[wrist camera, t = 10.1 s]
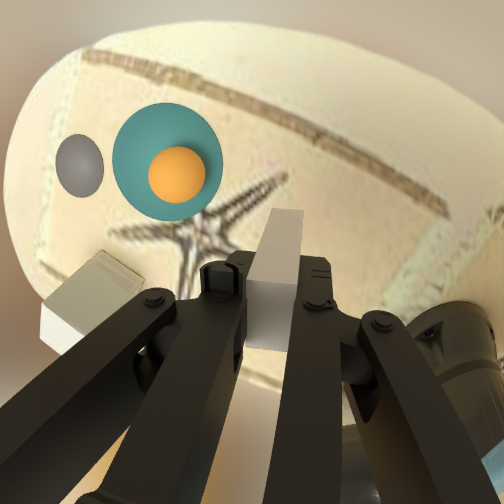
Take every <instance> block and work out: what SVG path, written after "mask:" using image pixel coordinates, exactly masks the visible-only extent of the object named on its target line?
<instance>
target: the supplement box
mask: <svg viewBox="0 0 504 504" xmlns="http://www.w3.org/2000/svg"><path fill="white" fill-rule="evenodd" d="M143 282H144V279H143V278H142V277H140V276H139V275H137V274H136V273H134V272H133V271H131V270H130V269H129V268H127V267H126V266H124V265H123V264H121V263H120V262H118V261H117V260H115V259H114V258H113V257H111V256H110V255H108V254H107V253H105V252H104V251H99V252H98V253H97V254H96V255H95V256H93V257H92V258H91V259H90V260H89V261H88V262H86V263H85V264H84V265H83V266H82V267H81V268H80V269H78V270H77V271H76V272H75V273H74V274H73V275H72V276H71V277H70V278H68V279H67V280H66V281H65V282H64V283H63V284H62V285H61V286H60V287H59V288H57V289H56V290H55V291H54V292H53V293H52V294H51V295H50V296H49V297H48V298H47V299H46V300H44V301H43V302H42V308H41V325H40V339H41V340H43V341H44V342H45V343H46V344H47V345H49V346H50V347H51V348H53V349H54V350H55V351H56V352H58V353H59V354H60V355H63V354H64V353H65V352H66V351H67V350H69V349H70V348H71V347H72V346H73V345H75V344H76V343H77V342H78V341H80V340H81V339H82V338H83V337H84V336H86V335H87V334H88V333H89V332H91V331H92V330H93V329H94V328H96V327H97V326H98V325H99V324H101V323H102V322H103V321H104V320H106V319H107V318H108V317H109V316H111V315H112V314H113V313H114V312H116V311H117V310H118V309H119V308H121V307H122V306H123V305H124V304H126V303H127V302H128V301H129V300H131V299H132V298H133V297H135V296H136V295H137V294H138V293H139V291H140V289H141V286H142V284H143Z"/></svg>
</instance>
